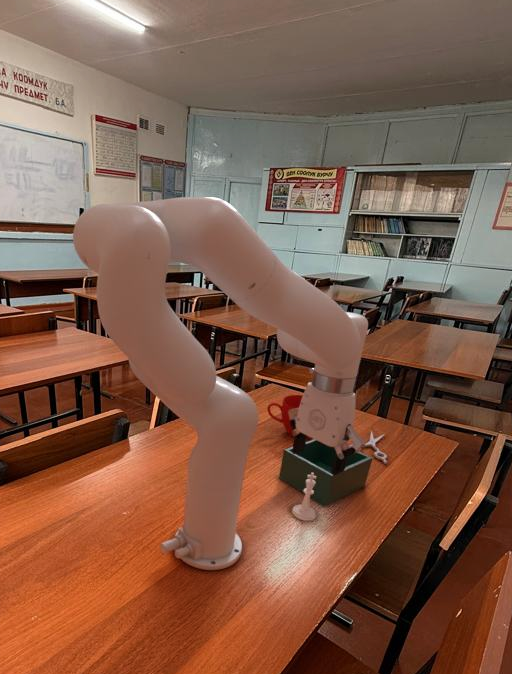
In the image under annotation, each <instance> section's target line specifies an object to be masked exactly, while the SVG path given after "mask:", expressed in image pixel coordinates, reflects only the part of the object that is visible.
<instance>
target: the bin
mask: <svg viewBox="0 0 512 674" xmlns="http://www.w3.org/2000/svg"><path fill="white" fill-rule="evenodd" d="M341 447H342V445H341ZM342 449H343V447H342ZM292 450H293V446H290V447H288V448H285V449H283V454H282V459H281V464H280V470H279V475H278V479H279V480H281V481H282V482H284V483H286V484H288V485H289V486H291V487H293V488H294V489H296V490H298V491H299V492H301V493H302V494H304V495H305V494H306V493H304V492H303V490H304V489H305V488H307V487H306V480H307V479H310V478H307V476H308V475H311V472H312V473H314V475H313V476H316V479H313V480H314V481H315V482H316V484H315V485H314V487H313V488H312V490H313V491H314V494H312V495H310V499H312V500H314V501H316V502H317V503H318V504H320V505H322V506H323V507H326V506H328V505H331V504H332V503H335V502H336V501H339V500H340V499H343V498H344V497H346V496H348V495H350V494H352V493H354V492H356V491H358V490H360V489H362V488H364V487H365V486H366V484H367V479H368V477H369V472H370V469H371V465H372V462H373V459H374V457H371V456H369V455H367V454H366V453H363V452H361V451H360V452H359V451H358V452H356V453H354V454H352V455H350V456H348V459H347V463H346V467H345V470H344V471H343V472H341V473H339V474H337V475H335V476H333V475H332V474H331V470H332V466H333V461H334V457H335V456H338V455H337V453H336V450H335V448H334V447H330V446H328V445H325V444H323V443H321V442H319V441H317V440H315V439H313V438H312V439H310V440H308V441H306V444H305V449H304V451H303V452H300V453H297V454H293V453H292ZM343 451H344V450H343Z"/></svg>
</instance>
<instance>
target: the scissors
mask: <svg viewBox="0 0 512 674" xmlns="http://www.w3.org/2000/svg"><path fill="white" fill-rule="evenodd" d="M373 433H374V432H373V430H372V429H371V430H370V435H369V441H367V442H365V445H364V446H363V447H362V448H366V447H371V448H372V449H373V450H375V452H373V457H375V458H376V459H378V460H380V461H382V462H383V464H385V465H387V463H388V460H386V459H387V454H386V453H384V452H383V451H380V448H378V447H377V446H376V443H377V442H379V441H380V440H381V439H382V438H383V437H384V436H385V435H386V433H384V434H382V435H379V436H378V437H376V438H374V434H373ZM352 445H353V444H349V446H350V448H351V447H352ZM362 448H361V449H360V450H359V452H361V451H362Z"/></svg>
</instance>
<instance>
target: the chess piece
mask: <svg viewBox="0 0 512 674" xmlns="http://www.w3.org/2000/svg"><path fill="white" fill-rule="evenodd" d="M313 475H314V473H312V472H311V475H308V476H307V478H310V479H307V480H306V487H307V488H305V489H304V490H303V492H304V493H306V494H304V493H303V494H304V497H303V499H302V502H301V503H299V504H295V505H293V507H292V510H291V513H292V515H293V516H294V517H295V518H297V519H298V520H301V521H306V522H307V521H313V520H314V519H316V516H317V515H316V514H317V513H316V510H315V509H314V508H313V507H312V506H310V504H311V498H310V495H312V494H314V491H313V490H312V488H313V487H314V485H315V484H316V482H315V481H314V480H313V479H316V476H313Z"/></svg>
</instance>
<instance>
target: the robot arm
mask: <svg viewBox="0 0 512 674" xmlns="http://www.w3.org/2000/svg"><path fill="white" fill-rule="evenodd" d="M72 242H73V246H74V250H75V253H76V254H77V255H78V258H79V259H80V261H81V262H82V264H84V265H85V266H86V267H87V268H88V269H90V270H91V271H93V272H95V273H97V278H96V279H97V281H96V303H97V311H98V317H99V320H100V322H101V325H102V328H103V329H104V332H105V333H106V335H108V337H109V338H110V340H111V341H112V342H113V343H114V344H115V345H116V347H117V348H119V350H120V351H121V352H122V353H123V354H124V355H125V357H127V359H128V364H129V367H130V369H131V371H132V373H133V375H134V376H135V377H136V378H137V379H138V380H139V381H140V382H141V383H142V384H143V386H145V387H146V388H147V389H148V390H149V391H150V392H151V393H152V394H153V395H154V396H155V397H156V398H158V399H159V401H161V402H162V403H163V404H164V405H165V406H166V407H167V408H168V409H169V410H170V411H171V412H172V413H173V414H175V416H177V417H178V418H179V419H181V420H182V421H183V422H185V424H187V425H188V426H189V427H191V428H192V429H193V430H194V431H195V433H196V434H197V439H196V443H195V445H194V447H193V448H192V450H191V452H190V453H189V456H188V457H189V458H188V462H187V475H186V488H185V502H184V512H183V513H184V515H183V524H182V526H179V527H178V529H177V531H176V532H175V534H174V537H173V538H172V539H168V540H165V541H163V542H161V543H160V544H159V550H160V551H161V553H162V554H163V555H166V554H168V553H170V552H173V551H174V556H175V557H176V559H180V560H181V561H182V562H184V563H185V564H187V565H189V566H191V567H193V568H196V569H200V570H205V571H217V570H223V569H226V568H229V567H231V566H232V565H234V564H235V563H237V562H238V560H239V559H240V557H241V555H242V550H243V542H242V540H241V537H240V535H238V533H237V525H238V518H239V512H240V505H241V497H242V491H243V484H244V477H245V476H244V475H245V469H246V463H247V459H248V454H249V450H250V446H251V444H252V441H253V439H254V436H255V433H256V430H257V428H258V423H259V411H258V407H257V405H256V403H255V401H254V400H253V399H252V397H251V396H250V395H249V394H248V393H247V392H245V390H243V389H242V388H239V386H236V385H234V384H233V383H231V382H230V381H227V380H226V379H223V378H221V377H220V376H218V375H217V368H216V366H215V362H214V360H213V359H212V356H211V355H210V354H209V351H207V349H206V348H205V347H204V346H203V345H202V344H201V342H200V341H198V339H197V338H196V337H195V336H194V335H193V334H192V332H191V331H190V330H189V329H188V328H187V326H186V325H185V324H184V323H183V322H182V321H181V320H180V318H179V316H178V315H177V313H176V312H175V311H174V310H173V308H172V307H171V305H170V303H169V302H168V299H167V295H166V280H167V274H168V270H169V267H170V264H174V263H180V264H184V265H189V266H193V267H194V268H195V269H197V270H198V271H199V272H201V273H202V274H203V275H204V276H205V277H206V278H207V279H208V280H209V281H211V283H213V284H214V285H215V286H216V287H217V288H218V289H219V290H220V291H222V292H223V293H224V294H225V295H226V296H227V297H228V298H229V299H230V300H231V301H232V302H233V303H234V304H235V305H236V306H237V307H239V308H240V309H241V310H242V311H243V312H245V313H246V314H248V315H250V316H251V317H253V318H255V319H256V320H258V321H260V322H261V323H264V324H266V325H269V326H271V327H273V328H275V329H277V331H276V339H277V342H278V345H279V346H280V347H281V349H283V351H285V352H286V353H288V354H289V355H292V356H293V357H294V356H295V357H297V358H299V359H301V360H305V361H307V362H310V363H313V364H314V367H310V369H309V371H308V373H309V375H310V376H312V379H311V382H308V383H307V385H306V387H305V389H304V392H303V394H302V395H303V397H302V400H301V403H300V406H299V408H295V409H291V410H289V411H288V414H289V419H290V425H291V427H292V429H293V431H292V433H293V435H294V437H293V443H292V447H293V450H292V453H293V454H297V453H300V452H303V451H304V449H305V444H306V442H307V440H308V439H307V436H309V437H310V439H312V440H313V439H315V440H317V441H319V442H321V443H323V444H325V445H328V446H330V447H334V448H335V450H336V453H337V455H338V456H335V457H334V461H333V466H332V470H331V474H332V475H333V476H335V475H337V474H339V473H341V472H343V471H344V470H345V467H346V463H347V459H348V456H350V455H352V454H354V453H356V452H358V451H359V450H360V449H361V450H362V448H364V447H363V446H364V445H365V444H366V441H365V440H364V438H363V437H362V436H361V435H360V434H359V433H358V432H357V430H356V429H355V428H354V422H355V417H356V404H357V398H356V393H355V392H354V389H355V385H356V381H357V377H358V373H359V367H360V364H361V359H362V355H363V350H364V346H365V342H366V337H367V333H368V328H369V321H368V319H367V318H366V317H365V316H364V315H362V314H359V313H355V312H350V311H345V310H344V309H343V308H342V306H340V304H338V303H337V302H336V301H335V300H334V299H332V297H330V296H329V295H327V294H326V293H325V292H323V291H322V290H321V289H319V288H318V287H316V286H315V285H314V284H312V283H311V282H309V281H308V280H307V279H305V278H304V277H303V276H302V275H300V274H299V273H297V272H295V271H294V270H293V269H291V268H289V267H288V266H287V265H286V264H285V263H284V262H283V260H281V259H280V258H279V257H278V256H277V255H276V253H274V251H273V250H272V249H271V248H270V247H269V245H268V244H267V243H266V242H265V241H264V240H263V238H262V237H261V236H260V235H259V234H258V233H257V232H256V231H255V229H254V228H253V227H252V225H250V223H248V221H247V220H246V219H245V218H244V216H242V214H240V212H239V211H238V210H237V209H236V208H235V207H234V206H233V205H232V204H230V203H229V202H228V201H226V200H223V199H222V198H218V197H212V196H183V197H173V198H164V199H157V200H145V201H130V202H129V201H128V202H117V203H116V202H115V203H99V204H96V205H93V206H91V207H88V208H87V209H86V210H84V211H83V212H82V213H81V214H80V216H79V217H78V218H77V220H76V222H75V225H74V228H73V234H72ZM350 440H351V442H352V444H351V445H352V447H351V448H350V444H349V441H350ZM341 445H342V447H343V449H342V447H341ZM343 450H344V451H343Z"/></svg>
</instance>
